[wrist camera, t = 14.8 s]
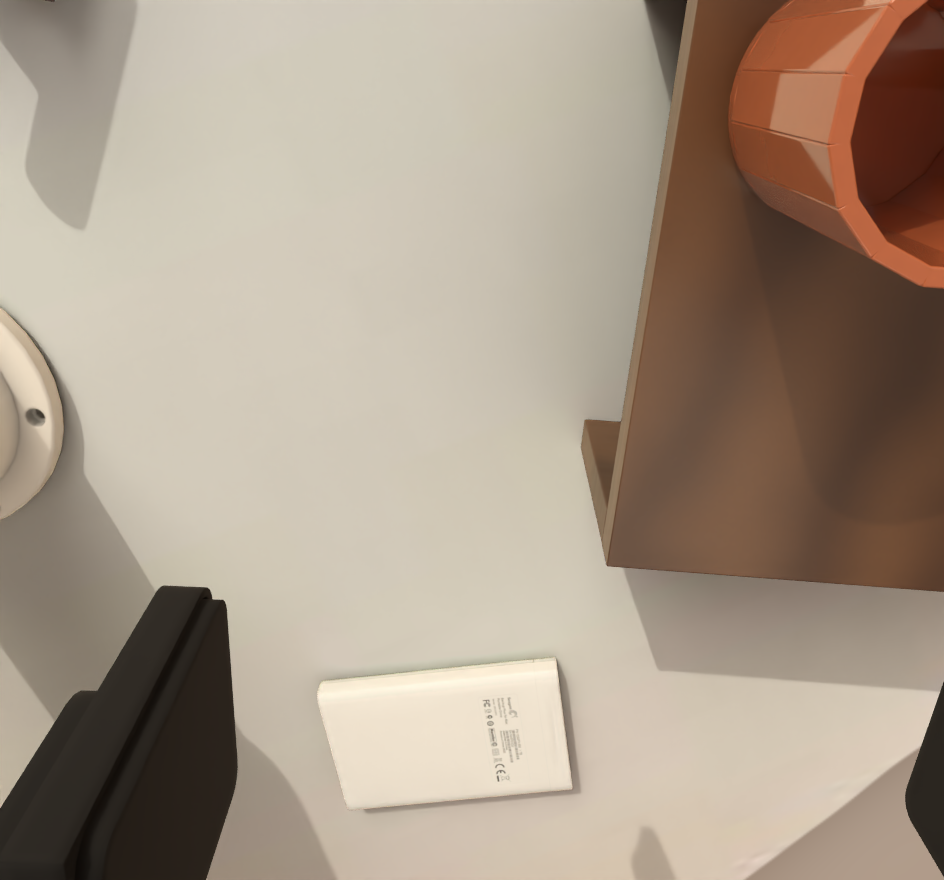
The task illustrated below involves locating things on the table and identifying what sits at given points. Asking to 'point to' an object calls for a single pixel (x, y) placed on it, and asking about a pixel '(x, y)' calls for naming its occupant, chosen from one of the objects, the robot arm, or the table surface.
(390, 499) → the table surface
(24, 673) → the table surface
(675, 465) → the dark wooden box
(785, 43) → the cup
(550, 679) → the hard drive
